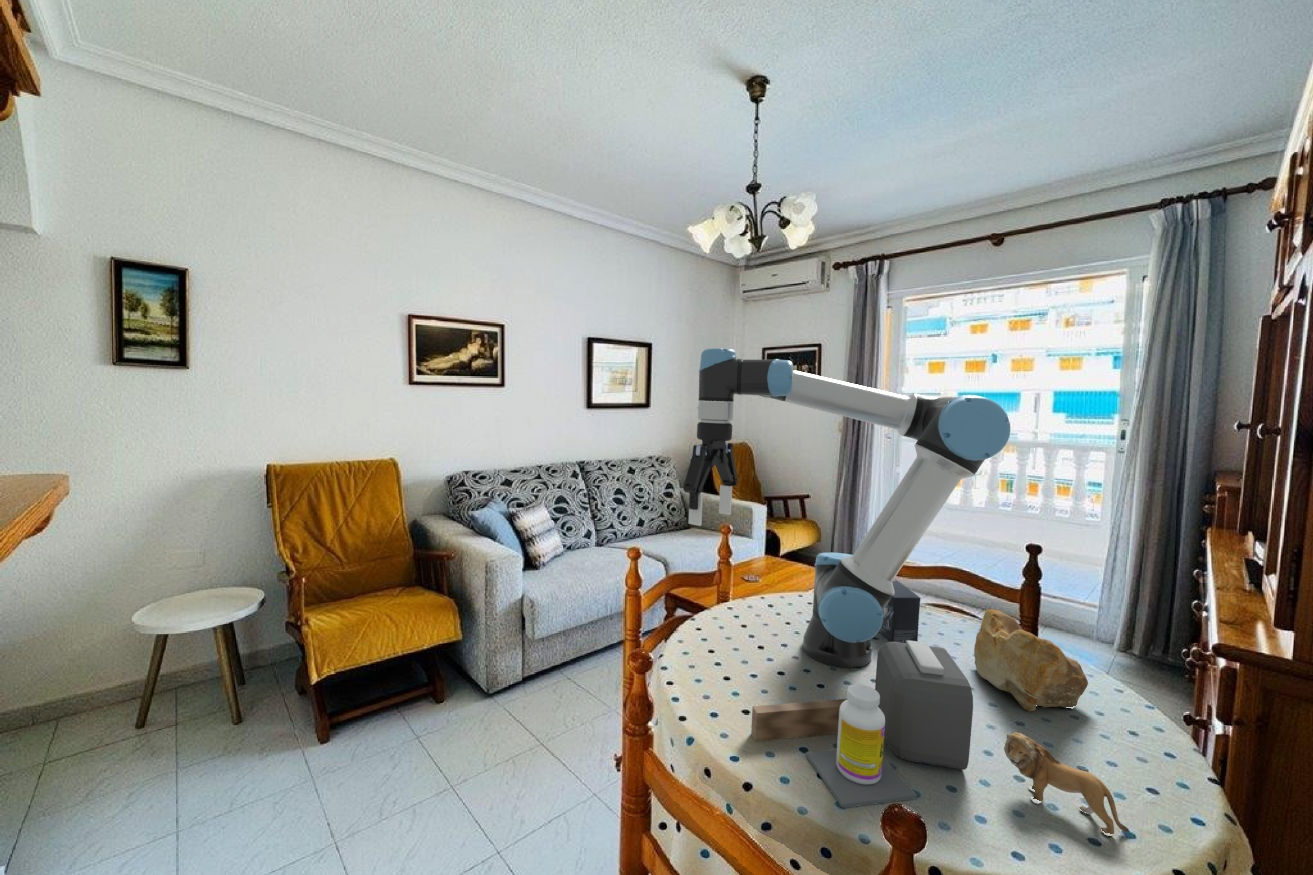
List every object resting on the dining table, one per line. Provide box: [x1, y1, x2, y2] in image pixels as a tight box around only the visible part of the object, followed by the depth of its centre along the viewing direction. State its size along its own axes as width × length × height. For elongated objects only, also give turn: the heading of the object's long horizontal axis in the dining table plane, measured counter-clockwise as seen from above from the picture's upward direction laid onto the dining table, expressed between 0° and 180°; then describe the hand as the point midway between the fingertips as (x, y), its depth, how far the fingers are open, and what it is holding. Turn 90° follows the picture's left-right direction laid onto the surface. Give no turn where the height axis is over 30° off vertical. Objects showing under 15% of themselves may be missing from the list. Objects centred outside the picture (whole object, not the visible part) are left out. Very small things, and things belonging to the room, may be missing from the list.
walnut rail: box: [750, 698, 848, 742], centre depth 91 cm, size 20×2×5 cm, turn 101°
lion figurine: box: [1003, 731, 1130, 835], centre depth 75 cm, size 15×5×9 cm, turn 54°
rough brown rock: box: [973, 608, 1089, 712], centre depth 105 cm, size 23×17×15 cm
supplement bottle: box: [836, 683, 885, 785], centre depth 80 cm, size 7×7×13 cm
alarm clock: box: [874, 640, 974, 771], centre depth 90 cm, size 16×11×16 cm
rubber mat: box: [805, 748, 918, 809], centre depth 80 cm, size 12×11×1 cm
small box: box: [878, 578, 921, 643], centre depth 132 cm, size 13×7×12 cm, turn 2°
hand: (710, 519), depth 113 cm, fingers open, 13 cm apart
